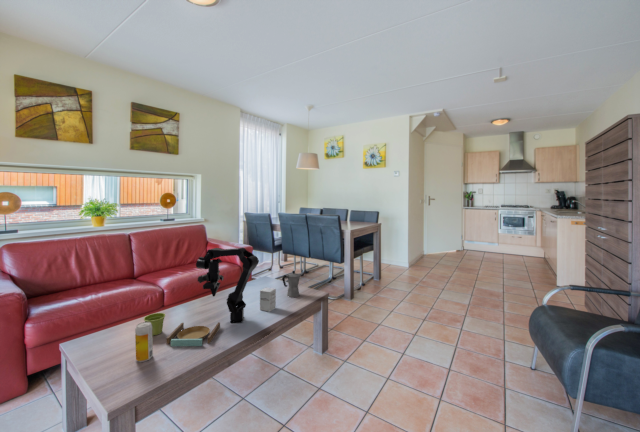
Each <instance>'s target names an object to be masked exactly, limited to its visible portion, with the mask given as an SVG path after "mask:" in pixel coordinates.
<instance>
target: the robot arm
mask: <svg viewBox="0 0 640 432" xmlns="http://www.w3.org/2000/svg"><path fill="white" fill-rule="evenodd" d="M232 256H237V257H238V258H239V261H240V263H242V265H241V266H242V272H241V274H240V276H239V278H238V279H239V280H238V281H237V283H236V287H235V289H234V291H232V292H230V293H228V296H227V298H226V305H227V308H228V312H229V317H230V318H229V319H230V320H229V321H230V323H232V324H235V323H237V324H238V323H240V324H241V323H243V321H244V319H245V316H244V314H245V313H244V312H245V311H244V310H245V308H246V306H247V303H246V302H245V301H244V300H243V298H244V297H243V296H244V295H243V294H244V291H245V288H246V286H247V284H248V281H249V279H250V276H251V274H252V272H253V271H254V270H255V269H256V268H257V266H258V265H259V262H260V261H259V258H258V257H257V256H256V255H254V254H253V253H252V252H250V251H248V250H247V249H246V248H244V247H237V248H236V247H235V248H224V249H223V248H221V247H214V248H210V249H208V250H206V254H205V255H204V256H199V257H198V259H197V260H196V263H195V267H196V268H197V269H203V270H207V271H208V272H206V274H202V275H199V276H198V277H197V282H198V283H199V284H202V283H204V282H205V283H204V284H203V285H202V289H203V290H210V292H211V295H212V297H215V296H216V294H217V292H218V290H219V288H220V287H221V286H220V285H221V282H219V281H222V282H223V281H224V275H223V274H220V273H221V270H219V269H220V263H222V262H223V260H221V259H220V257H221V258H222V257H232Z"/></svg>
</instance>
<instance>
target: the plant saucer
mask: <svg viewBox="0 0 640 432" xmlns="http://www.w3.org/2000/svg"><path fill="white" fill-rule="evenodd" d="M210 333H211V329H210V327H208V326H204V325H194V326H190V327H186V328H183V330H182V331H180V332H179V333H178V335H177V336H176V337H177V339H202V340H203V339H205V338H206V337H208V336H209V334H210Z"/></svg>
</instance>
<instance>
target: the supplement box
mask: <svg viewBox="0 0 640 432" xmlns="http://www.w3.org/2000/svg"><path fill="white" fill-rule="evenodd" d="M276 293H277V289H276V288H272V287H264V288H262V289H261V290H259V310H260V311H263V312H264V311H265V312H272V311H273V310H275V309H276V307H277V306H276V298H277V295H276Z"/></svg>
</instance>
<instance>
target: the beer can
mask: <svg viewBox="0 0 640 432" xmlns="http://www.w3.org/2000/svg"><path fill="white" fill-rule="evenodd" d="M134 333H135V335H134V338H135V339H134V340H135V341H134V342H135V360H136V361H137V362H139V363H143V362H147V361H149V360H151V359H152V357H153V356H154V350H153V349H154V347H153V346H154V345H153V336H152V324H151V322H145V321H143V322H140V323H139V322H138V323H137V324H136V326H135V328H134Z"/></svg>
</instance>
